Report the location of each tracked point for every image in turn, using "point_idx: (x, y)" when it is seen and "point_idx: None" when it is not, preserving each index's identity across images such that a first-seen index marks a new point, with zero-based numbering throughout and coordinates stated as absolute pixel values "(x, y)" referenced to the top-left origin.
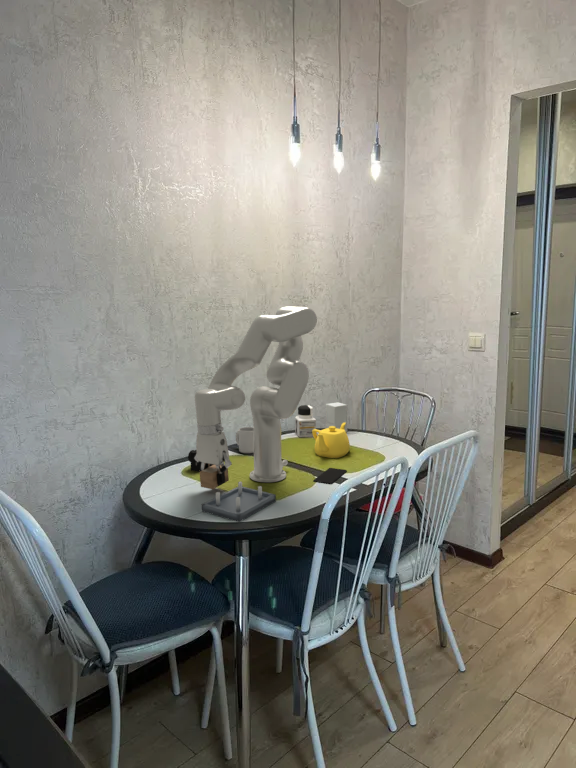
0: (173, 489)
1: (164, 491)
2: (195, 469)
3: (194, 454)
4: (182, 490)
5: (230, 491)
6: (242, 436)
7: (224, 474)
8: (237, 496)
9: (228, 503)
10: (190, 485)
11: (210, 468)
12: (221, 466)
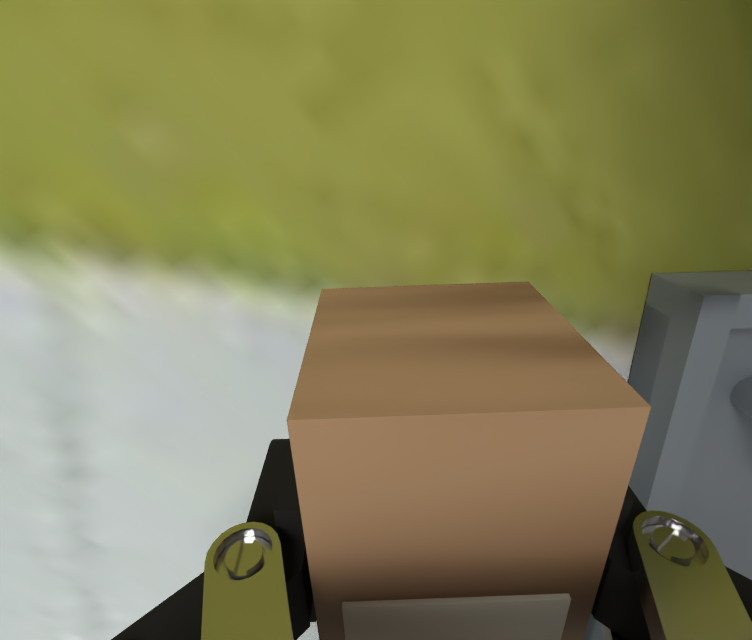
0: (83, 526)
1: (72, 581)
2: None
3: None
4: (161, 504)
5: (680, 459)
6: None
7: (635, 500)
8: (742, 439)
9: (729, 564)
10: (101, 395)
11: (398, 616)
12: (657, 629)
